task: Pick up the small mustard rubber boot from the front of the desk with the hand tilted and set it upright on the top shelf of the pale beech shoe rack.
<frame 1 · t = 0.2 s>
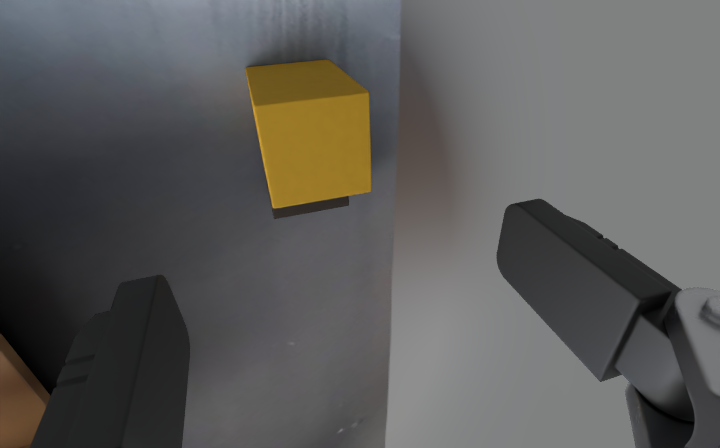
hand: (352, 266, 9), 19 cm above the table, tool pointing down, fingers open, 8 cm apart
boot: (293, 105, 25), on the table
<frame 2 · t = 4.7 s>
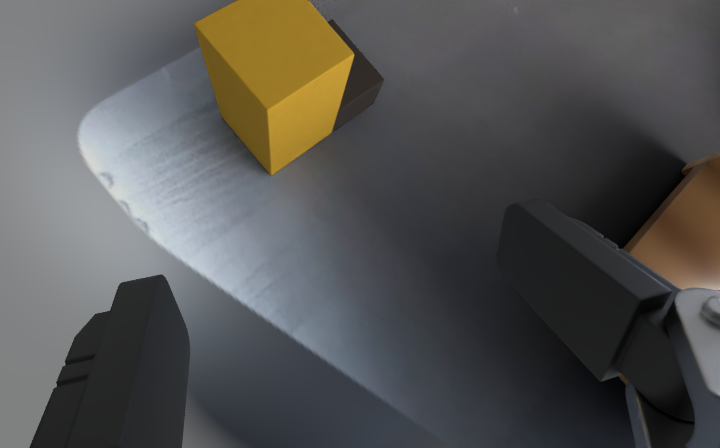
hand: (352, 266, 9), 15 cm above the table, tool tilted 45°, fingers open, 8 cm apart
shoe rack: (682, 289, 29), on the table
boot: (277, 124, 26), on the table
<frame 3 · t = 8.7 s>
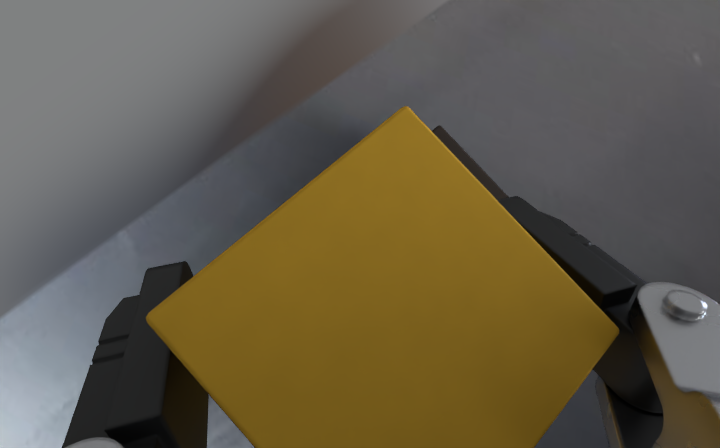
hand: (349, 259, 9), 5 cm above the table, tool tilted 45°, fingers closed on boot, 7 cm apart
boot: (339, 319, 14), on the table, touching gripper
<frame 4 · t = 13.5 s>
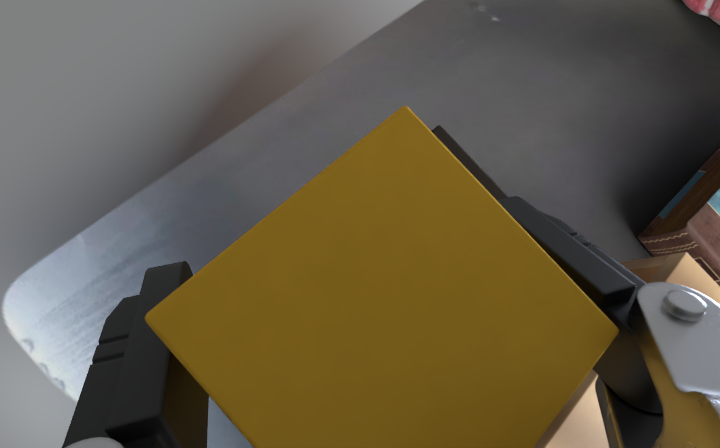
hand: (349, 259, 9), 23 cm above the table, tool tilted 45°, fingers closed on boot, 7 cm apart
shoe rack: (556, 393, 33), on the table
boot: (338, 318, 14), point 18 cm above the table, touching gripper
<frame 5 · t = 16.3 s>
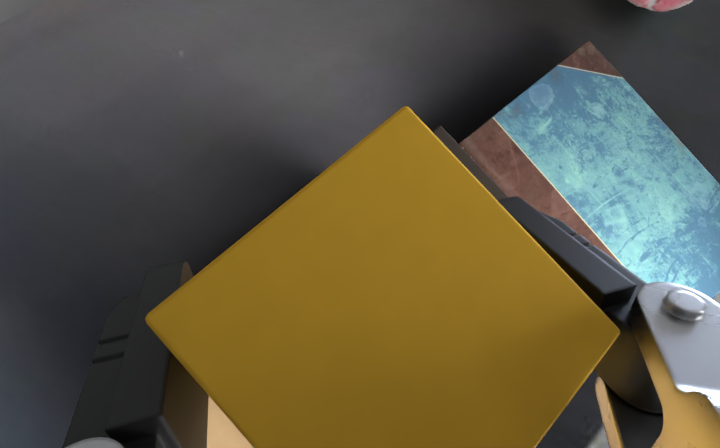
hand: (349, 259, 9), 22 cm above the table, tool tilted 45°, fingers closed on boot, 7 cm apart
shoe rack: (321, 320, 31), on the table
book: (576, 206, 37), on the table
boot: (339, 319, 14), point 17 cm above the table, touching gripper
when the fingers open (16 cm above the table, at t = 18.7 s): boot stays where it is, resting on shoe rack.
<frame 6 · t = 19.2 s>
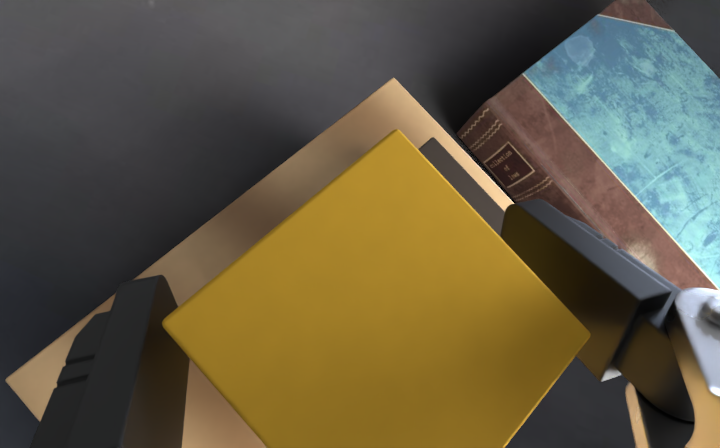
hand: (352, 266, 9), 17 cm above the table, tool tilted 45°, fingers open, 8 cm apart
shoe rack: (317, 317, 25), on the table
book: (616, 184, 32), on the table
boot: (337, 321, 15), point 11 cm above the table, touching shoe rack
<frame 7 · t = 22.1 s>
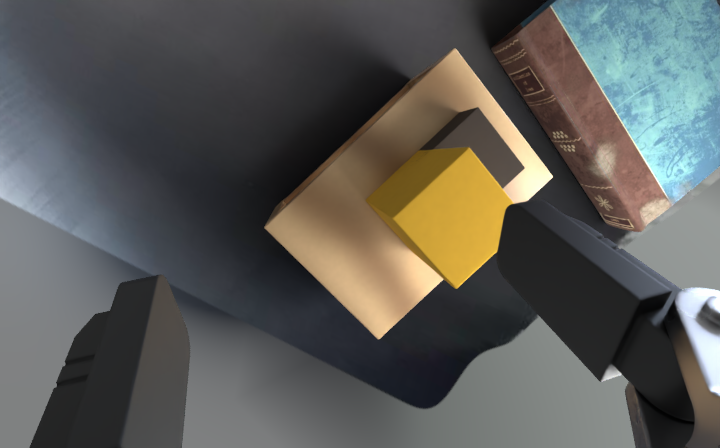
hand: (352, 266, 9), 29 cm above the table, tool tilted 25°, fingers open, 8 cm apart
shoe rack: (383, 188, 39), on the table
book: (611, 89, 41), on the table
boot: (415, 201, 28), point 11 cm above the table, touching shoe rack
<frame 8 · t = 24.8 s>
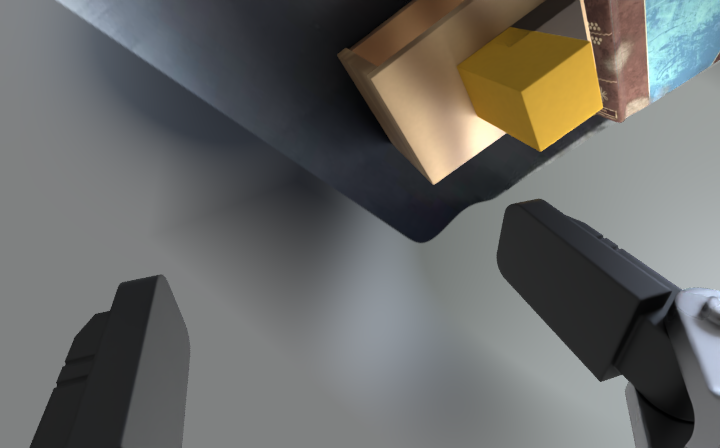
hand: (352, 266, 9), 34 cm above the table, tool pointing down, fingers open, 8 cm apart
shoe rack: (434, 51, 42), on the table
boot: (492, 74, 33), point 11 cm above the table, touching shoe rack
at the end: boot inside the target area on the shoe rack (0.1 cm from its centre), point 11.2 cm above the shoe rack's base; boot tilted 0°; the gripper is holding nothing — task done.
